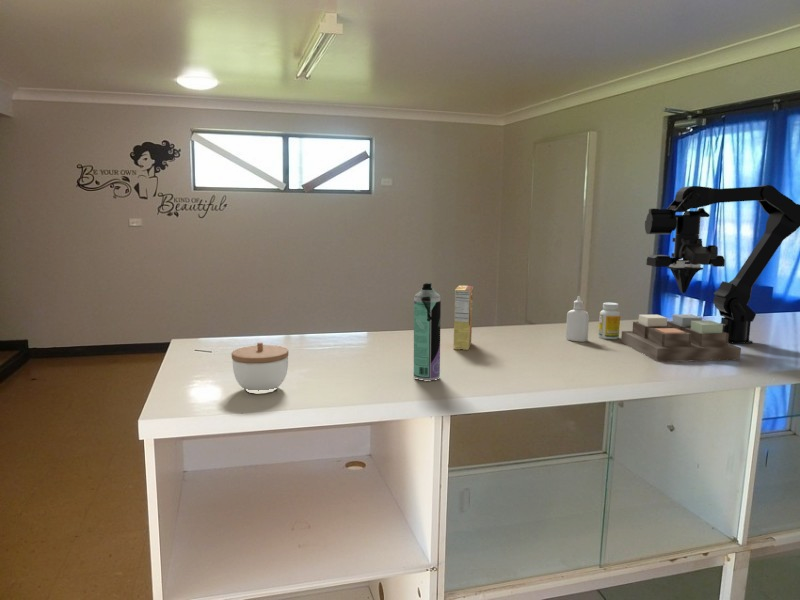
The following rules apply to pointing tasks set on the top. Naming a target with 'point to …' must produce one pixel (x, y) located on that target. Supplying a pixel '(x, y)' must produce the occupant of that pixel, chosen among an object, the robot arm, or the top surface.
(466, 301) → the candy box
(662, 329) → the cap terracotta
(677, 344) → the stepped wooden stand
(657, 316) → the cap cream
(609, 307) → the supplement bottle
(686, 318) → the cap slate
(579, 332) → the eye dropper bottle
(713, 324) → the cap sage
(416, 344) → the spray can
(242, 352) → the lidded jar
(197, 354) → the top surface
